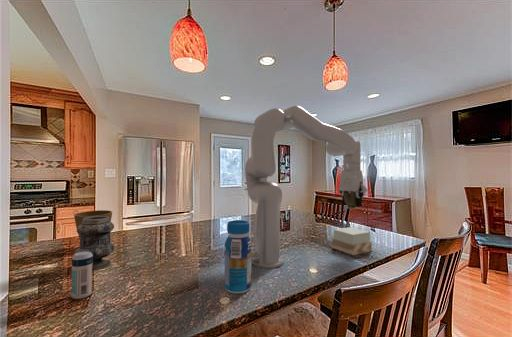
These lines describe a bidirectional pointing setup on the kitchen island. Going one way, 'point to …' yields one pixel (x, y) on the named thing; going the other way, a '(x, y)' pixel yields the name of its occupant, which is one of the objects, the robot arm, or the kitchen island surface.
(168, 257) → the kitchen island surface
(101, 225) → the dark grey carved vase
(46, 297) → the kitchen island surface
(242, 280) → the beverage bottle
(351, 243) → the tower top
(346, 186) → the robot arm
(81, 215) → the plant pot
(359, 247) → the box
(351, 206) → the dark brown tapered piece
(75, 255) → the white pill bottle
